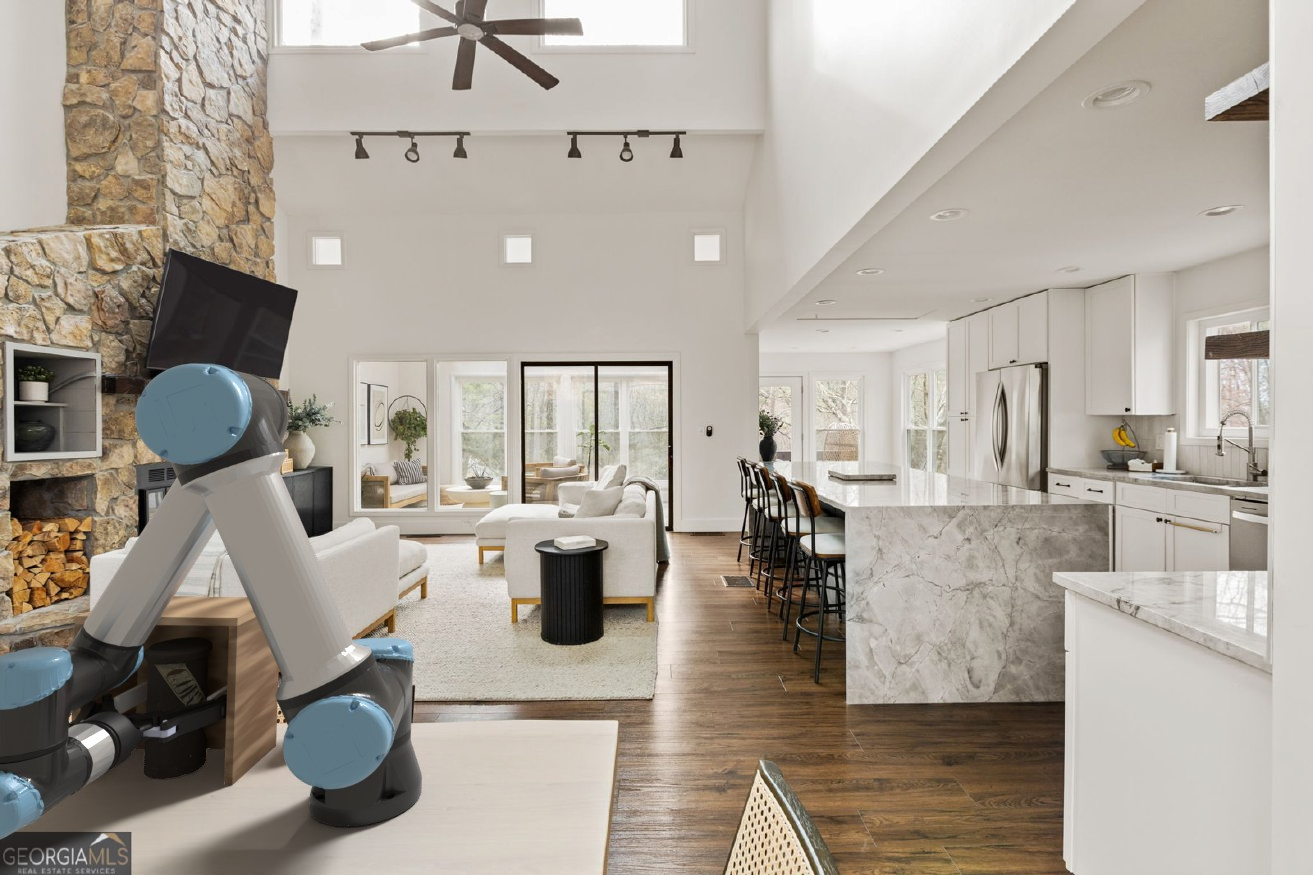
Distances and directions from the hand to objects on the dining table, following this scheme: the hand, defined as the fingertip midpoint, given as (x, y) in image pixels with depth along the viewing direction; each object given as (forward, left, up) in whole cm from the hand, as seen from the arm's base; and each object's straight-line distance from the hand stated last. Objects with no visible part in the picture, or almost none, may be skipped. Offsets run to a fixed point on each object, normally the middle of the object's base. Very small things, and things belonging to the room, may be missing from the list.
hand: (189, 690), depth 110 cm
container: (0, +3, -11) cm, 12 cm away
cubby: (0, +3, -11) cm, 11 cm away
